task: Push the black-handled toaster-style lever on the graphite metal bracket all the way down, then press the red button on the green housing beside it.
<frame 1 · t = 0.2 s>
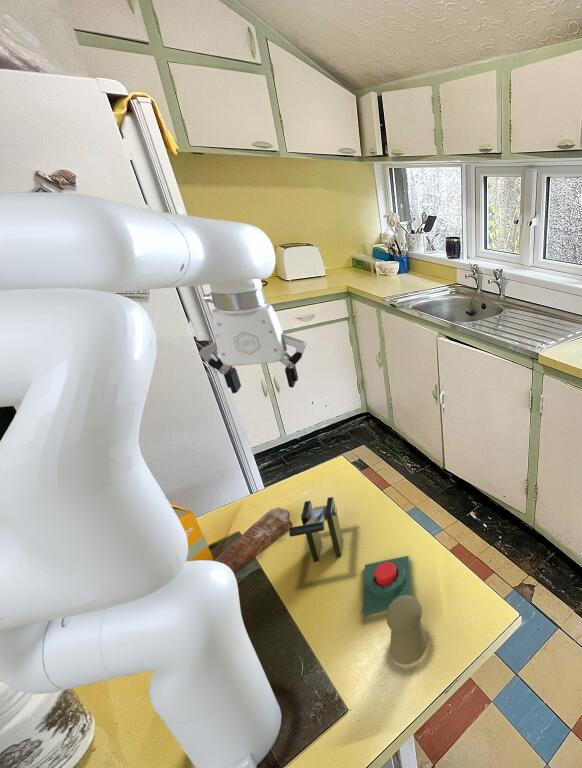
hand: (265, 387, 79), 31 cm above the table, tool pointing down, fingers open, 9 cm apart
button: (385, 573, 73), point 4 cm above the table, slide at 0.1 cm
button box: (388, 590, 75), on the table
lever: (314, 520, 72), point 13 cm above the table, hinge at 30.0°
bracket: (330, 555, 82), on the table
salami: (249, 560, 80), on the table
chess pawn: (409, 651, 66), on the table
orange juice: (182, 578, 77), on the table
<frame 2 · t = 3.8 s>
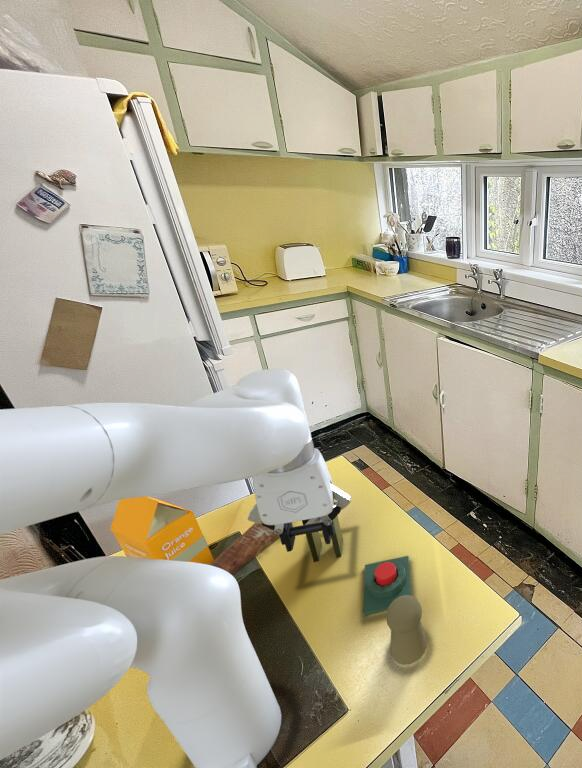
hand: (310, 540, 68), 13 cm above the table, tool pointing down, fingers closed on lever, 5 cm apart
lever: (314, 520, 72), point 13 cm above the table, hinge at 30.0°, touching gripper
everything else where it was.
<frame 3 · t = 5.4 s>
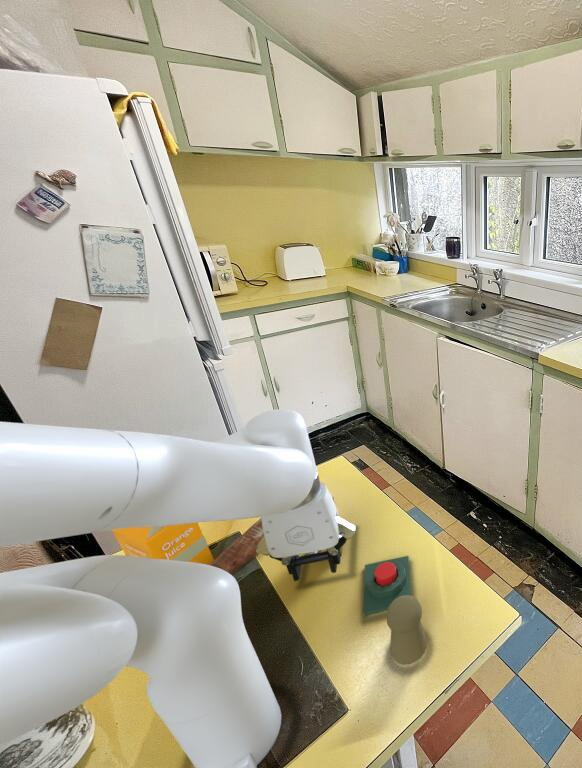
hand: (316, 569, 70), 8 cm above the table, tool pointing down, fingers closed on lever, 5 cm apart
lever: (316, 533, 73), point 11 cm above the table, hinge at -1.8°, touching gripper
everything else where it was.
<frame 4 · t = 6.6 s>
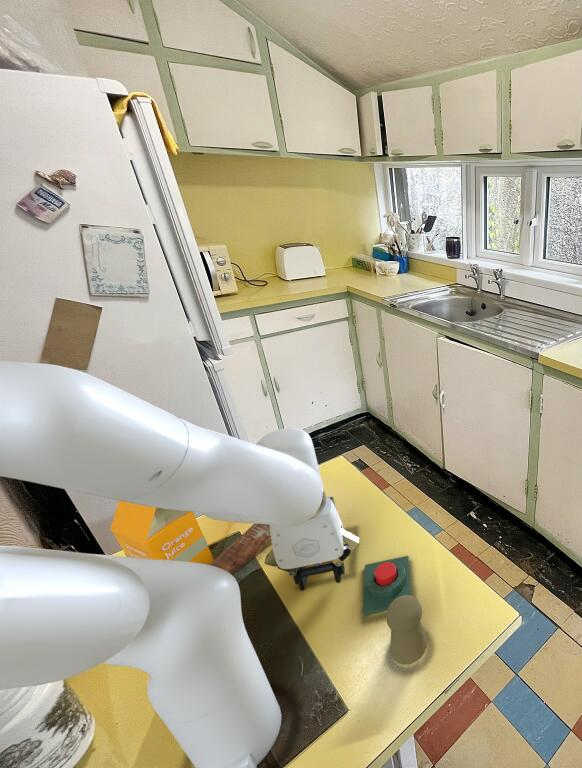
hand: (321, 579, 73), 4 cm above the table, tool pointing down, fingers closed on lever, 5 cm apart
lever: (318, 539, 74), point 9 cm above the table, hinge at -24.2°, touching gripper
everything else where it was.
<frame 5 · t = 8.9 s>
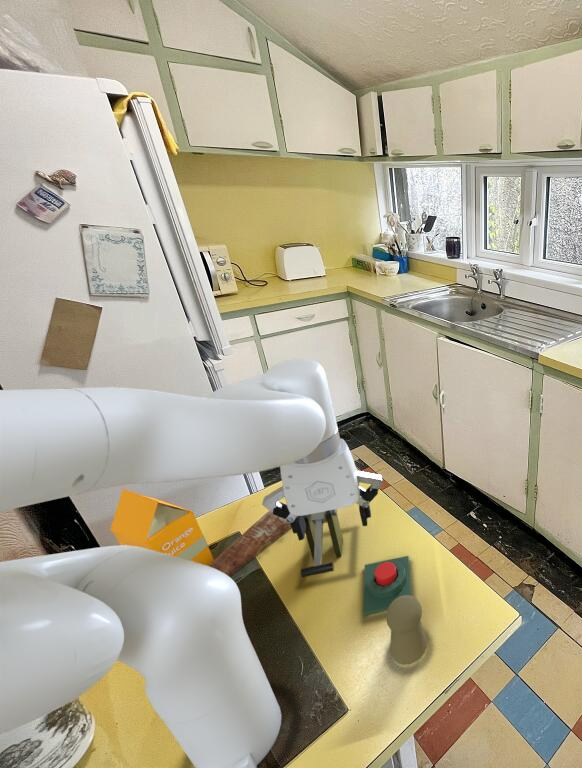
hand: (334, 526, 68), 16 cm above the table, tool pointing down, fingers open, 9 cm apart
lever: (318, 539, 74), point 9 cm above the table, hinge at -24.2°
everything else where it was.
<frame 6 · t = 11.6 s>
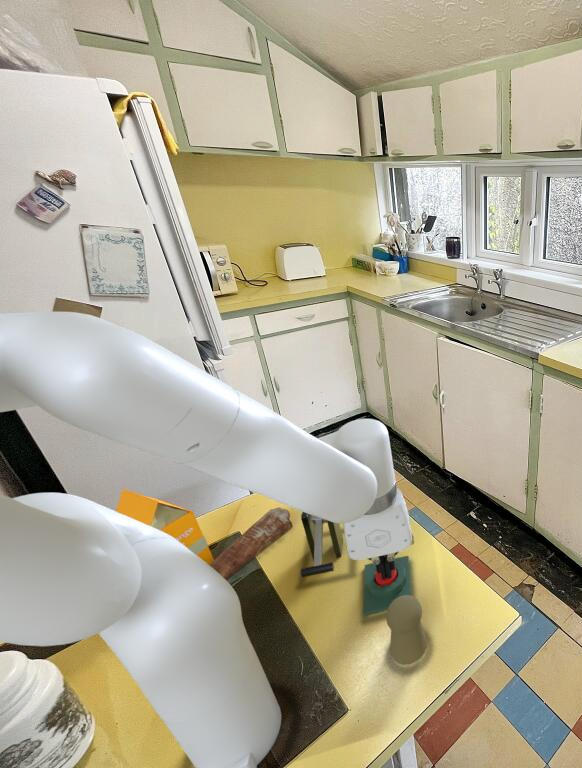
hand: (386, 571, 73), 5 cm above the table, tool pointing down, fingers closed
button: (386, 576, 73), point 4 cm above the table, slide at -0.7 cm, touching gripper
everything else where it was.
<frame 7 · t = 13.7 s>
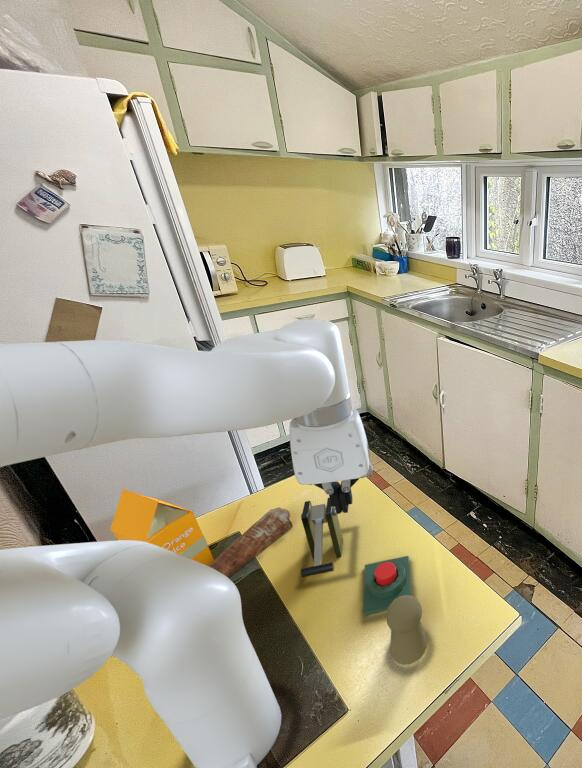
hand: (343, 507, 66), 20 cm above the table, tool pointing down, fingers closed
button: (385, 573, 73), point 4 cm above the table, slide at 0.1 cm
everything else where it was.
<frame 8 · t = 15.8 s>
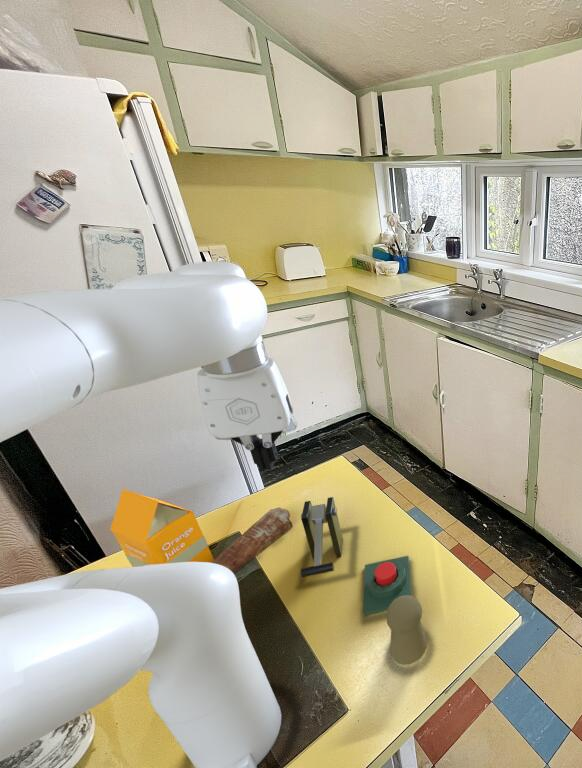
hand: (268, 464, 64), 27 cm above the table, tool pointing down, fingers closed
nothing on the table moved.
at the end: lever at -24° (first picture: +30°); button pushed in 1.1 cm at the most during the clip, back to where it started at the end; button slide at 0.1 cm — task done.
